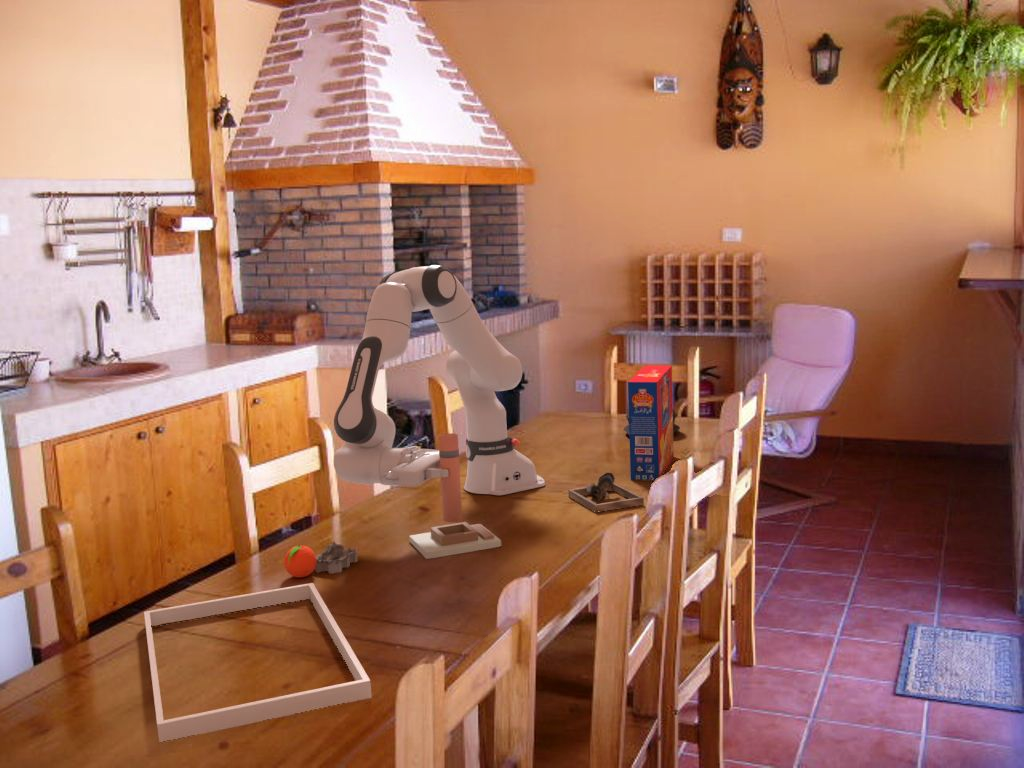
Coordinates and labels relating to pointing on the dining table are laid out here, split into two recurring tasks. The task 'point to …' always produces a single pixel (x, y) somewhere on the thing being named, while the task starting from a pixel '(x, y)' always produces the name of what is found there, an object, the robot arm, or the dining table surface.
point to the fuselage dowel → (450, 477)
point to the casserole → (675, 427)
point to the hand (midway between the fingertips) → (453, 469)
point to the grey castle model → (329, 561)
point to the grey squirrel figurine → (601, 486)
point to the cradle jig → (454, 540)
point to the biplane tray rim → (261, 708)
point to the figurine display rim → (630, 502)
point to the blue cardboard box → (650, 422)
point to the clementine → (300, 561)
